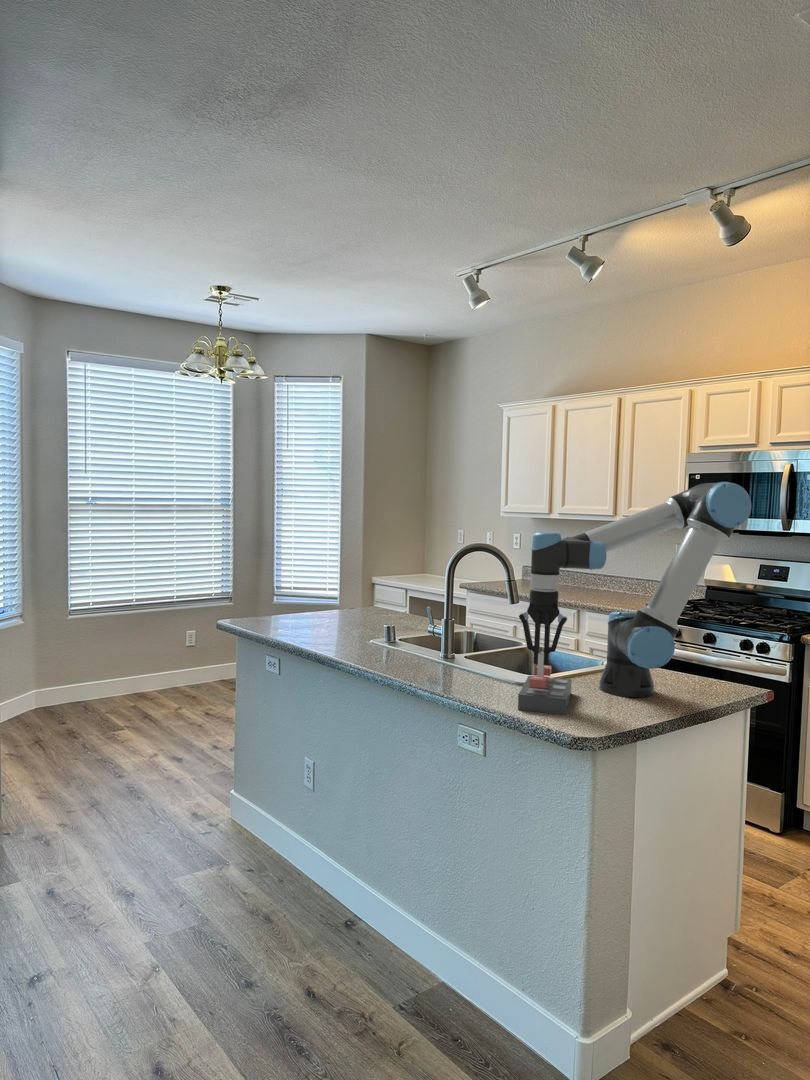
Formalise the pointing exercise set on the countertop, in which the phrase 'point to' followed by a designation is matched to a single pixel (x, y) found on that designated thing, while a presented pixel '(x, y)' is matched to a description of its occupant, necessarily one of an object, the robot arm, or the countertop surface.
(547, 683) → the button
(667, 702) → the countertop surface
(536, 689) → the dark grey flat block
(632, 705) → the countertop surface
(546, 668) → the button
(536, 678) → the button
